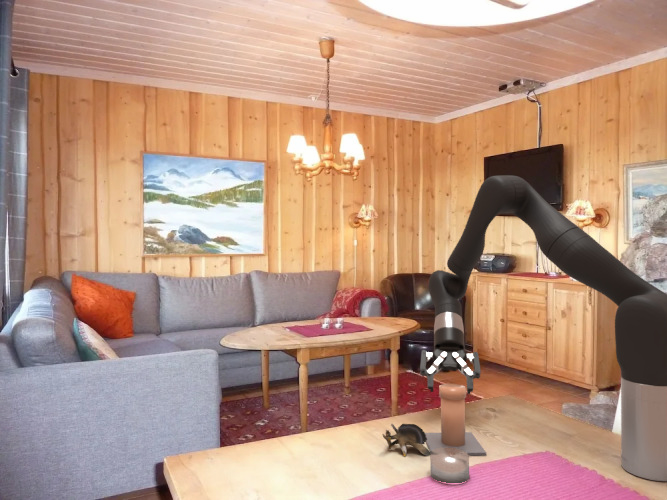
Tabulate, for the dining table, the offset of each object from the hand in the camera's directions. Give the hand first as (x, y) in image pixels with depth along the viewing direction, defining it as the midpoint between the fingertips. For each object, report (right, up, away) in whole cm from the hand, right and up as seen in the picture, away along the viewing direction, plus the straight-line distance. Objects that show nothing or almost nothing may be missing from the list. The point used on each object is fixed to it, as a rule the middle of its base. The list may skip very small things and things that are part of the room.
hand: (450, 391), depth 118 cm
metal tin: (-6, -9, -25) cm, 27 cm away
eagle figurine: (-12, -9, -14) cm, 21 cm away
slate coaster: (-2, -8, -11) cm, 14 cm away
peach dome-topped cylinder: (-2, -8, -11) cm, 13 cm away
